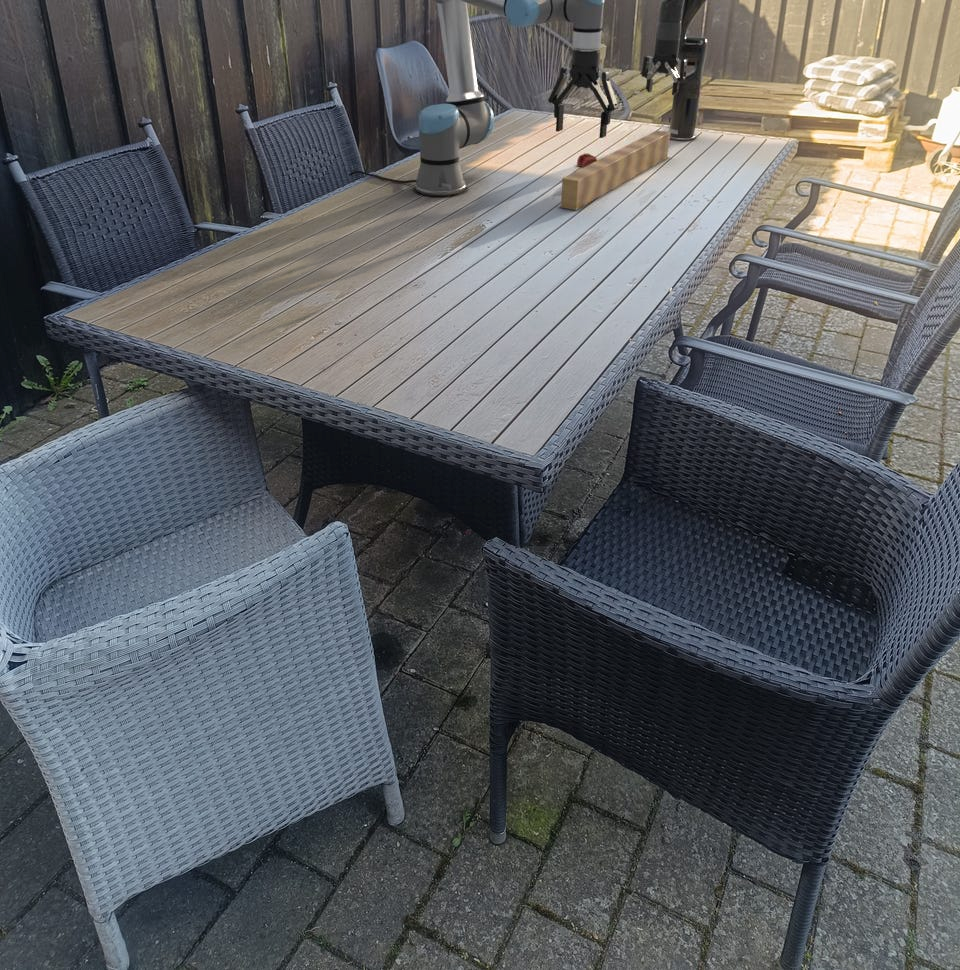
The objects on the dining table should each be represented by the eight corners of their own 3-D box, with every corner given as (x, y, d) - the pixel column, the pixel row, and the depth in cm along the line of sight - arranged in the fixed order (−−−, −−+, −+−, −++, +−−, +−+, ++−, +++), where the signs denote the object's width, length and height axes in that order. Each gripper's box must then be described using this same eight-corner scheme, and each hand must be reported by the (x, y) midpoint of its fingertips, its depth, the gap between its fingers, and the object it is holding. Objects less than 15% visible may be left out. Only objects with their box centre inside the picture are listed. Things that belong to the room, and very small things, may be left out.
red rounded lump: (591, 150, 280) (600, 156, 273) (591, 163, 282) (599, 169, 276) (576, 151, 279) (584, 158, 272) (575, 164, 281) (583, 171, 275)
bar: (576, 210, 242) (577, 180, 237) (560, 207, 244) (562, 178, 240) (667, 157, 288) (670, 132, 284) (653, 155, 291) (656, 130, 286)
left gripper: (635, 51, 220) (627, 136, 232) (551, 43, 231) (548, 125, 243) (623, 55, 215) (615, 142, 227) (538, 46, 226) (535, 130, 238)
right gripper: (694, 37, 263) (686, 93, 273) (651, 34, 269) (645, 89, 279) (685, 40, 258) (677, 97, 267) (642, 37, 264) (636, 92, 274)
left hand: (580, 133), depth 235 cm, fingers open, 13 cm apart
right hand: (661, 93), depth 273 cm, fingers open, 8 cm apart
